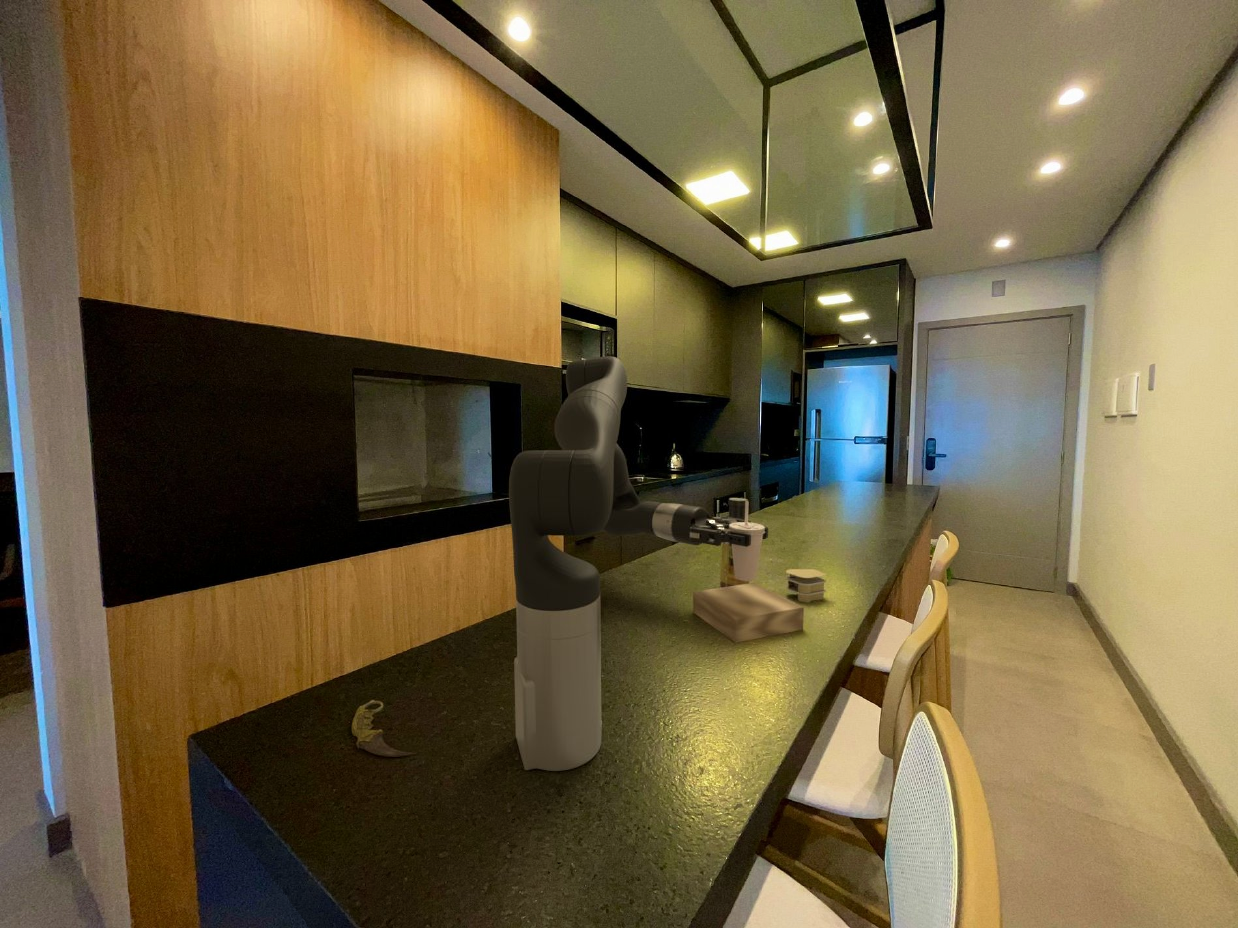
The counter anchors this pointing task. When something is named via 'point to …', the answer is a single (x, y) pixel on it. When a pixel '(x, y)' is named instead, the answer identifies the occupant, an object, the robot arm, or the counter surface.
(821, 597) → the stacked layers on plate
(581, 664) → the robot arm
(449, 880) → the counter surface
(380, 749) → the knife
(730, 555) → the sauce bottle
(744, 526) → the smoothie
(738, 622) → the riser
